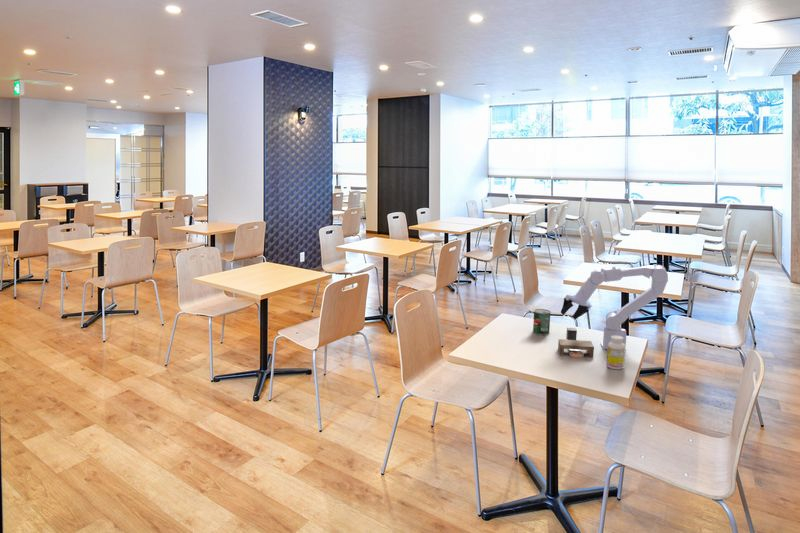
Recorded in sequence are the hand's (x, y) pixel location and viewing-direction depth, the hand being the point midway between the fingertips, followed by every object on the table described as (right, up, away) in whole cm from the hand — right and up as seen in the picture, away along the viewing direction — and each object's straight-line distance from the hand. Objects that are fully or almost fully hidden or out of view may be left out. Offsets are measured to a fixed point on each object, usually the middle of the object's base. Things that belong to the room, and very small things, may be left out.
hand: (568, 315), depth 253 cm
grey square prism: (+1, -14, -3) cm, 14 cm away
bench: (-1, -15, -12) cm, 20 cm away
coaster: (-1, -16, -16) cm, 23 cm away
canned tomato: (-8, -10, +16) cm, 21 cm away
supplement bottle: (+11, -19, -28) cm, 35 cm away
